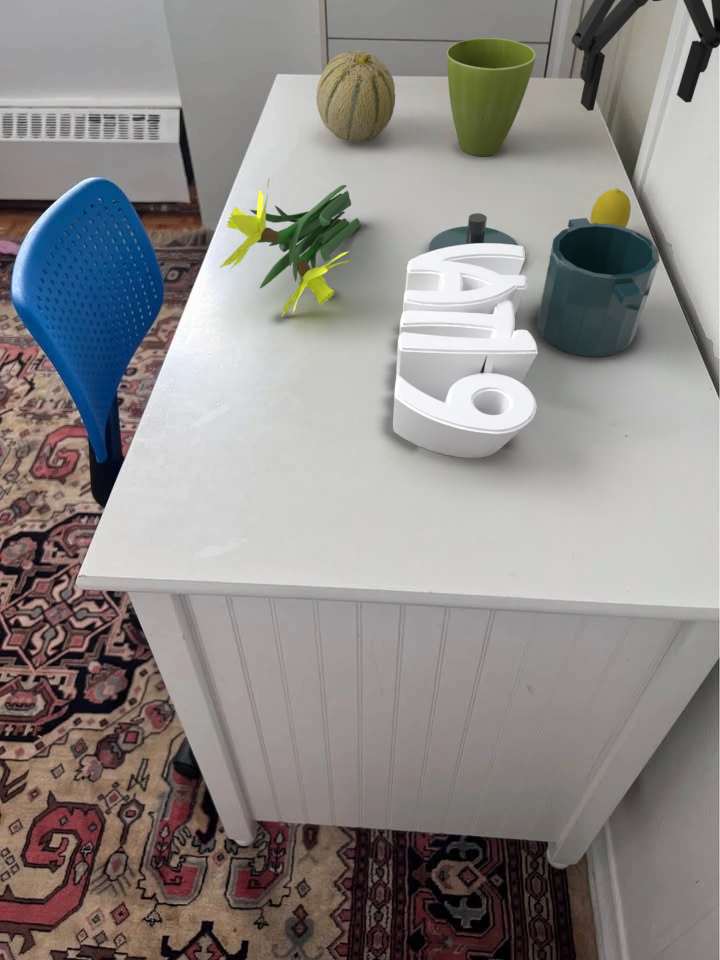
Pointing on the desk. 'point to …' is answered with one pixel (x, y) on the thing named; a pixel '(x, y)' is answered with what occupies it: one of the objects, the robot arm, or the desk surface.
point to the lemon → (612, 208)
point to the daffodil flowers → (298, 240)
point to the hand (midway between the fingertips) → (635, 102)
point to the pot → (596, 288)
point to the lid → (470, 234)
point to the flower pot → (487, 90)
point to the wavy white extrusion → (463, 351)
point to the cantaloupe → (356, 96)
